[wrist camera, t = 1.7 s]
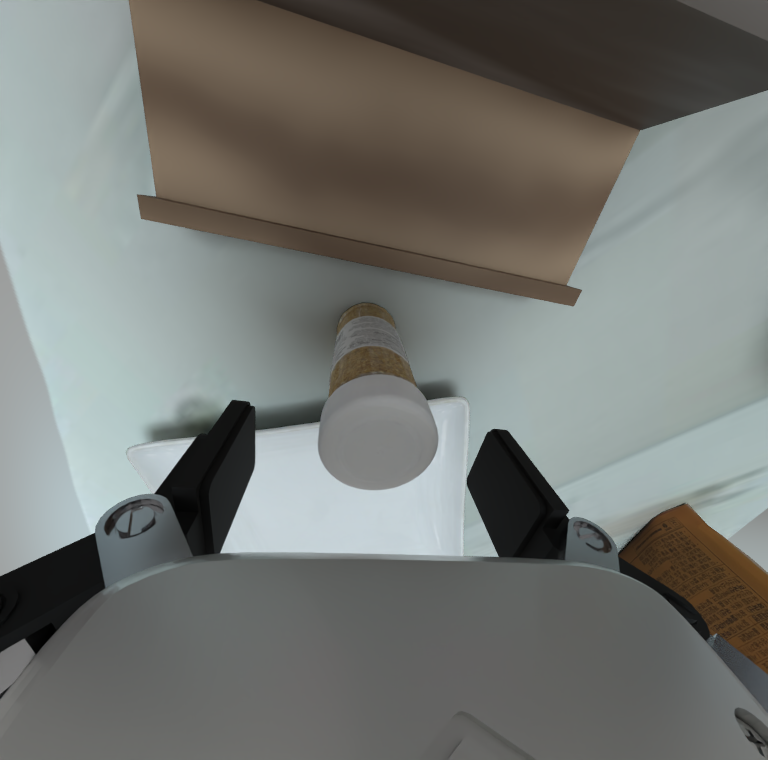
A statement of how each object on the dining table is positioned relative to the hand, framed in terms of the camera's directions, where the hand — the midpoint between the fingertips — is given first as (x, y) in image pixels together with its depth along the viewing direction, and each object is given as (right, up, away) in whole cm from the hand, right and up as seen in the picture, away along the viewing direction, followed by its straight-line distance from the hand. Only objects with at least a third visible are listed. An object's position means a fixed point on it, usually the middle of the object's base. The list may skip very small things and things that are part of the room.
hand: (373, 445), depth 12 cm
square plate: (-5, -11, +20) cm, 23 cm away
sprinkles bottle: (-1, +7, +11) cm, 13 cm away
